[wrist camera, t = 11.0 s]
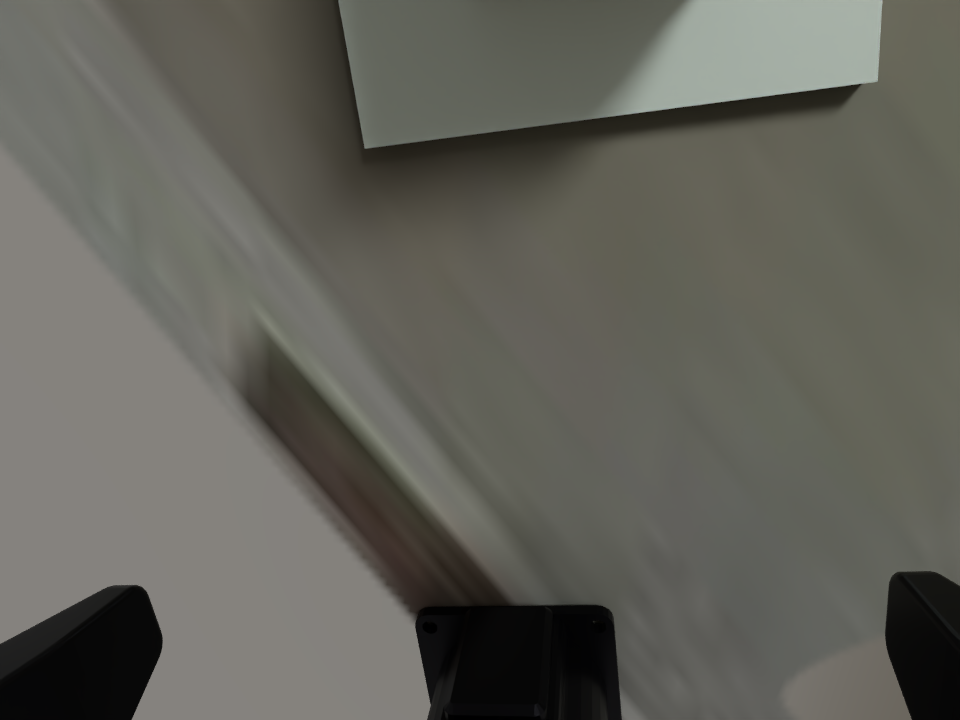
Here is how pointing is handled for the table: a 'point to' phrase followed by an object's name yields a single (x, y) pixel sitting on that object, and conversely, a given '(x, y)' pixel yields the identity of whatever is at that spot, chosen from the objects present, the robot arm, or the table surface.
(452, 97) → the board
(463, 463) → the table surface
